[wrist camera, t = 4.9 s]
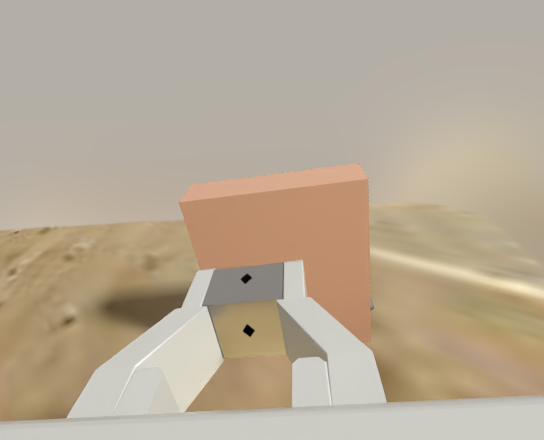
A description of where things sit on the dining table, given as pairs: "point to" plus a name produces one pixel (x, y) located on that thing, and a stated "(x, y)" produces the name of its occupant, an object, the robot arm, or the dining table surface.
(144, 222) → the dining table surface
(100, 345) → the dining table surface
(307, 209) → the board
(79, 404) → the robot arm
